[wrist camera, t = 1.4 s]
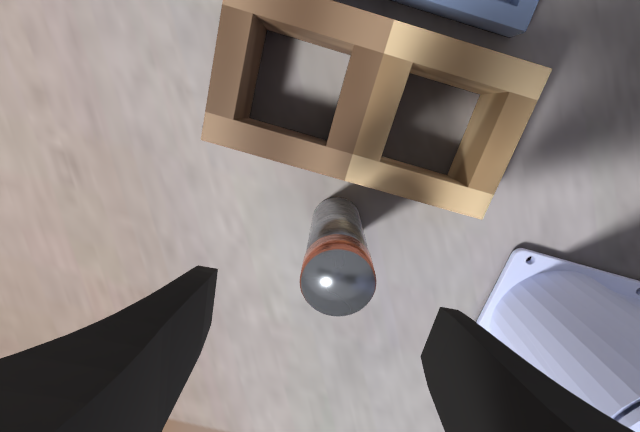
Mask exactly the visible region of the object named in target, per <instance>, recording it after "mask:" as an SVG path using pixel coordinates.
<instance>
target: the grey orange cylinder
mask: <svg viewBox="0 0 640 432" xmlns="http://www.w3.org/2000/svg"><path fill="white" fill-rule="evenodd" d="M300 288H301V292H302V294H303V296H304V298H305V300H306V301H307V302H308V303H309V304H310V305H311V306H312V307H313V308H314V309H316V310H317V311H319V312H321V313H323V314H326V315H331V316H346V315H350V314H353V313H355V312H357V311H359V310H361V309H362V308H363V307H365V306H366V305H367V304H368V302H369V301H370V300H371V298H372V297H373V295H374V292H375V289H376V275H375V271H374V267H373V263H372V259H371V256H370V254H369V251H368V248H367V244H366V240H365V236H364V231H363V227H362V223H361V219H360V215H359V212H358V210H357V208H356V206H355V205H354V204H353V203H352V202H350V201H349V200H347V199H344V198H340V197H333V198H329V199H326V200H324V201H323V202H321V203H320V204H319V205H318V206H317V208H316V209H315V211H314V214H313V219H312V224H311V230H310V235H309V240H308V245H307V251H306V254H305V256H304V260H303V265H302V270H301V275H300Z"/></svg>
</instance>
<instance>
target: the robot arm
mask: <svg viewBox="0 0 640 432" xmlns="http://www.w3.org/2000/svg"><path fill="white" fill-rule="evenodd" d="M530 256H532V257H531V259H530V260H529V261H526V259H527V258H528V257H530ZM217 272H218V269H215V268H209V267H203V266H196V267H195V268H193V269H191V270H190V271H188V272H186V273H185V274H183V275H182V276H180V277H178V278H177V279H175V280H174V281H172V282H170V283H169V284H167V285H166V286H164V287H162V288H161V289H159V290H157V291H156V292H154V293H152V294H151V295H149V296H147V297H145V298H143V299H141V300H140V301H138V302H136V303H134V304H132V305H130V306H128V307H126V308H125V309H123V310H121V311H119V312H117V313H115V314H113V315H111V316H109V317H107V318H105V319H103V320H100V321H98V322H96V323H94V324H91V325H89V326H87V327H84V328H82V329H80V330H78V331H75V332H73V333H70V334H68V335H65V336H63V337H60V338H57V339H54V340H52V341H49V342H46V343H44V344H41V345H38V346H35V347H33V348H30V349H27V350H24V351H22V352H19V353H16V354H13V355H10V356H7V357H4V358H1V359H0V432H162V430H163V427H164V425H165V424H166V422H167V420H168V418H169V416H170V414H171V412H172V410H173V408H174V406H175V404H176V402H177V400H178V398H179V396H180V394H181V392H182V390H183V388H184V386H185V384H186V382H187V380H188V378H189V376H190V374H191V372H192V370H193V368H194V366H195V364H196V362H197V360H198V358H199V356H200V353H201V351H202V348H203V345H204V343H205V340H206V337H207V334H208V331H209V329H210V326H211V321H212V313H213V305H214V297H215V288H216V280H217ZM638 288H639V289H638ZM637 289H638V290H637ZM636 290H637V291H636ZM421 360H422V364H423V369H424V373H425V377H426V381H427V385H428V388H429V391H430V394H431V396H432V399H433V402H434V404H435V407H436V409H437V412H438V415H439V417H440V420H441V422H442V425H443V427H444V430H445V432H640V281H638V280H635V279H631V278H627V277H624V276H620V275H617V274H613V273H610V272H606V271H603V270H599V269H595V268H592V267H588V266H585V265H581V264H578V263H574V262H571V261H567V260H563V259H560V258H556V257H553V256H549V255H546V254H542V253H539V252H535V251H531V250H528V249H524V248H518V249H516V250H514V251H513V252H512V253H511V255H510V257H509V259H508V261H507V263H506V265H505V267H504V269H503V271H502V273H501V275H500V277H499V279H498V281H497V283H496V285H495V287H494V289H493V290H492V292H491V294H490V296H489V298H488V300H487V302H486V304H485V306H484V308H483V310H482V312H481V314H480V316H479V318H478V320H477V322H475V321H474V320H472V319H471V318H469V317H468V316H466V315H465V314H463V313H462V312H460V311H459V310H455V309H449V308H443V307H440V309H439V311H438V314H437V316H436V319H435V321H434V324H433V326H432V329H431V331H430V334H429V337H428V339H427V342H426V344H425V347H424V349H423V352H422V354H421Z"/></svg>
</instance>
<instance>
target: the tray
mask: <svg viewBox="0 0 640 432" xmlns="http://www.w3.org/2000/svg"><path fill="white" fill-rule="evenodd" d="M391 1H394V2H397V3H401V4H404V5H407V6H410V7H413V8H416V9H420V10H423V11H426V12H429V13H432V14H436V15H439V16H442V17H445V18H448V19H452V20H455V21H458V22H461V23H464V24H468V25H471V26H474V27H477V28H480V29H483V30H487V31H490V32H493V33H496V34H499V35H503V36H506V37H509V38H511V37H513V36H516V35H518V34H521V33H523V32H526V30H527V27H528V25H529V23H530V20H531V18H532V16H533V13H534V11H535V9H536V6H537V4H538V2H539V0H391Z"/></svg>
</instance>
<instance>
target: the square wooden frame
mask: <svg viewBox="0 0 640 432" xmlns="http://www.w3.org/2000/svg"><path fill="white" fill-rule="evenodd" d="M393 22H394V19H390V18H387V17H384V16H381V15H378V14H374V13H371V12H368V11H365V10H361V9H358V8H355V7H352V6H349V5H345V4H342V3H339V2H336V1H332V0H223V3H222V9H221V15H220V22H219V28H218V34H217V41H216V47H215V53H214V60H213V66H212V72H211V79H210V85H209V91H208V98H207V104H206V110H205V117H204V123H203V129H202V136H201V140H203V141H206V142H210V143H214V144H217V145H221V146H224V147H228V148H231V149H235V150H238V151H242V152H245V153H249V154H252V155H256V156H259V157H263V158H266V159H270V160H273V161H277V162H280V163H284V164H288V165H291V166H295V167H298V168H302V169H305V170H309V171H312V172H316V173H319V174H323V175H326V176H330V177H333V178H337V179H340V180H344V181H345V178H346V174H347V171H348V168H349V165H350V161H351V158H352V155H353V152H354V148H355V145H356V142H357V139H358V135H359V132H360V129H361V126H362V123H363V119H364V116H365V113H366V110H367V106H368V103H369V100H370V97H371V93H372V90H373V87H374V84H375V80H376V77H377V74H378V71H379V67H380V64H381V61H382V58H383V54H384V51H385V48H386V45H387V42H388V38H389V35H390V32H391V29H392V25H393ZM267 30H269V31H273V32H276V33H279V34H282V35H286V36H289V37H292V38H296V39H299V40H302V41H306V42H309V43H312V44H315V45H319V46H322V47H325V48H329V49H332V50H335V51H339V52H342V53H345V54H348V55H351V57H350V60H349V64H348V67H347V71H346V74H345V78H344V82H343V85H342V89H341V92H340V96H339V100H338V103H337V107H336V110H335V114H334V117H333V121H332V125H331V128H330V132H329V135H328V139H327V140H324V139H320V138H317V137H314V136H310V135H307V134H303V133H300V132H296V131H293V130H289V129H286V128H282V127H279V126H276V125H272V124H269V123H265V122H262V121H258V120H255V119H251V118H249V116H250V111H251V106H252V101H253V96H254V91H255V86H256V81H257V76H258V71H259V66H260V61H261V56H262V51H263V46H264V41H265V37H266V32H267Z"/></svg>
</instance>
